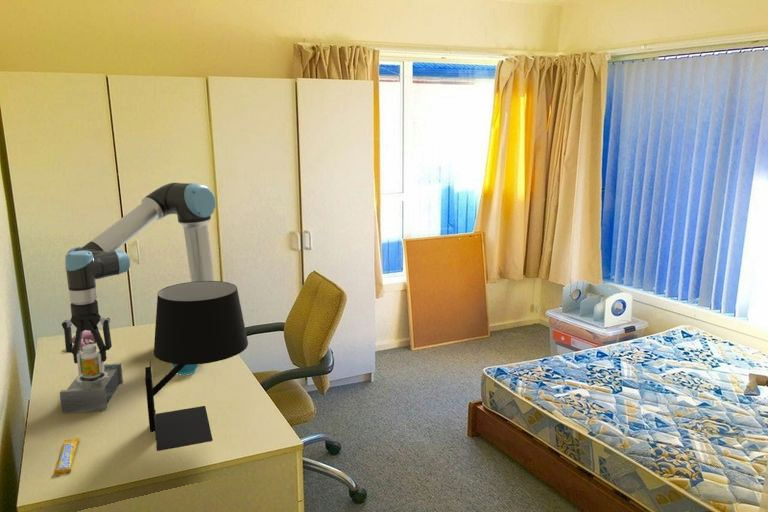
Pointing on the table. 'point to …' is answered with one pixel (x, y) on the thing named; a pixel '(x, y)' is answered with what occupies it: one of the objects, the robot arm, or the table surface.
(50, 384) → the table surface
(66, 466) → the candy bar
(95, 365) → the supplement bottle
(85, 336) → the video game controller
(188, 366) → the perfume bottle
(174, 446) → the table lamp
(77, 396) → the grey block with hole
